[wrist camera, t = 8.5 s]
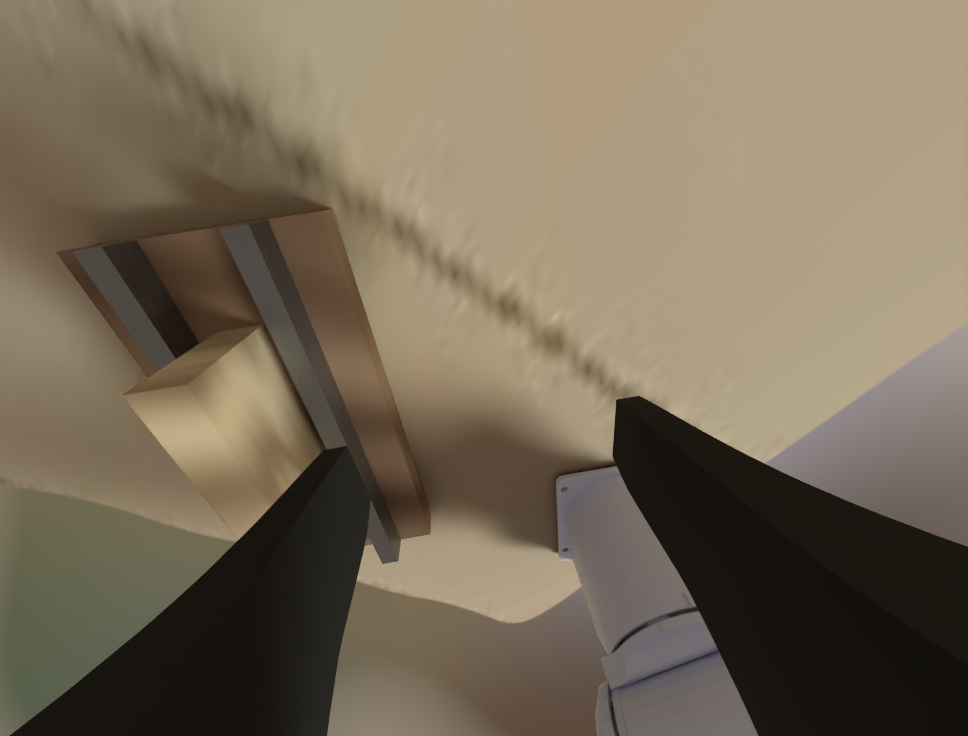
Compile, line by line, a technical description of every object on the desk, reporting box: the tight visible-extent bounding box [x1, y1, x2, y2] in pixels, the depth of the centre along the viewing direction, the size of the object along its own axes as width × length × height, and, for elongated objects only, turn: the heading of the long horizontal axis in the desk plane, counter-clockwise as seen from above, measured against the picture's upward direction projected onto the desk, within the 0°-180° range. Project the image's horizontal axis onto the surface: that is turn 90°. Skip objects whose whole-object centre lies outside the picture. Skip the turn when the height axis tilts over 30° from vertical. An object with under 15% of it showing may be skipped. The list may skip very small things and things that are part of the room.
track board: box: [56, 209, 431, 564], centre depth 18 cm, size 20×10×3 cm, turn 8°
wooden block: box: [122, 325, 324, 540], centre depth 15 cm, size 10×2×5 cm, turn 8°
